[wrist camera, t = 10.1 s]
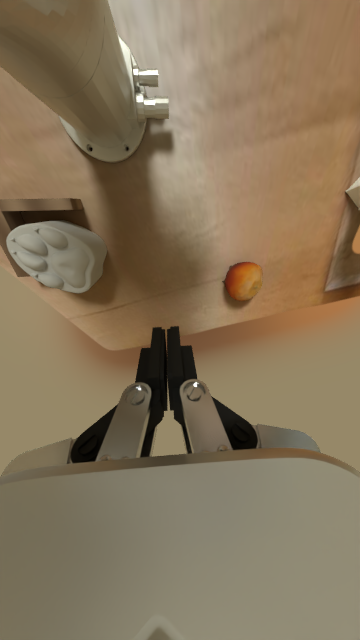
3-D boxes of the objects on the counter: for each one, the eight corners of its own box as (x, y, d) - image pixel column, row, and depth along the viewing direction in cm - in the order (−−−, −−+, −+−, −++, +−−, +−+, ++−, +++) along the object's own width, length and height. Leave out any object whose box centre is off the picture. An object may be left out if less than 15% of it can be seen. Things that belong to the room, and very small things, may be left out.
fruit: (220, 255, 36) (253, 268, 31) (244, 256, 40) (275, 267, 35) (210, 291, 40) (237, 308, 35) (232, 288, 45) (259, 303, 39)
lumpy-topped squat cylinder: (100, 285, 39) (85, 302, 32) (34, 261, 36) (0, 276, 28) (110, 238, 34) (94, 247, 27) (34, 206, 31) (-7, 206, 23)
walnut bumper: (80, 199, 30) (69, 198, 27) (98, 267, 37) (92, 274, 34) (-3, 200, 30) (-24, 199, 27) (31, 270, 36) (17, 276, 33)
